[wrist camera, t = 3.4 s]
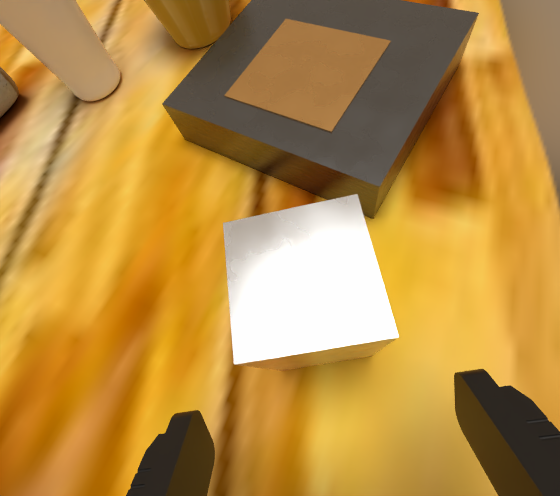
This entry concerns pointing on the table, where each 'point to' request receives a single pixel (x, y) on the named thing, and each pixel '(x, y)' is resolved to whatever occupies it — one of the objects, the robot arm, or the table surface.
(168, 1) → the plant pot
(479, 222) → the table surface
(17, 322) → the table surface
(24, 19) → the white tube
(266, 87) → the steel plate
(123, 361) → the table surface
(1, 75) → the ceramic mug
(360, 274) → the aluminium block
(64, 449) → the table surface
